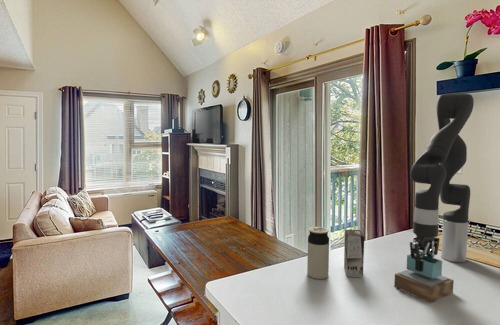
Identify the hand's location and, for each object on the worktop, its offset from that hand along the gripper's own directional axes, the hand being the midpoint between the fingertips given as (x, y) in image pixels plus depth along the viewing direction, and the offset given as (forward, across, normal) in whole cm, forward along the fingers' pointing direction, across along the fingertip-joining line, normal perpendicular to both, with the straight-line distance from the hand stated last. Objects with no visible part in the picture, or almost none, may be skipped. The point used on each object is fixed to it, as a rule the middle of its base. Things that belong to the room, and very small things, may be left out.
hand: (423, 268), depth 106 cm
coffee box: (+8, -10, +22) cm, 25 cm away
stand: (+7, 0, 0) cm, 7 cm away
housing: (+1, 0, 0) cm, 1 cm away
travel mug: (+8, -24, +27) cm, 37 cm away
